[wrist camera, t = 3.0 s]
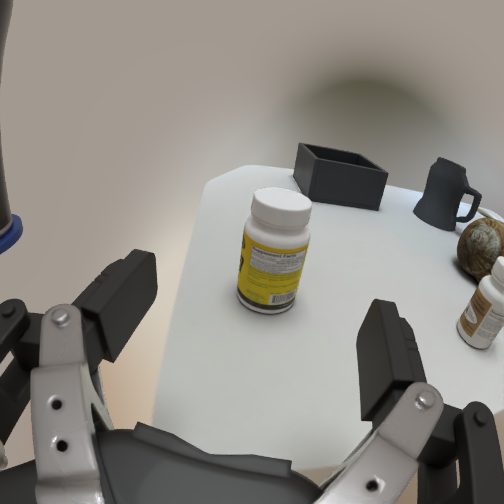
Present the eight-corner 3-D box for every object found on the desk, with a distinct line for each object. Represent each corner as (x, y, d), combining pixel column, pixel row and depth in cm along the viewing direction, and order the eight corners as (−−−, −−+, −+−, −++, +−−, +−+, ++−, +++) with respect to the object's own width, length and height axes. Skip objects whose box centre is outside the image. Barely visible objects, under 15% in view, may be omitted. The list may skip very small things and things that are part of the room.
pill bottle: (453, 314, 24) (488, 247, 20) (484, 325, 23) (520, 262, 19) (458, 344, 21) (502, 271, 17) (492, 354, 19) (536, 286, 15)
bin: (306, 200, 44) (315, 158, 41) (292, 176, 55) (298, 142, 52) (378, 210, 46) (388, 173, 42) (353, 185, 56) (360, 154, 53)
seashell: (439, 259, 34) (460, 204, 30) (467, 252, 37) (486, 206, 33) (499, 311, 25) (530, 252, 21) (518, 294, 29) (542, 246, 25)
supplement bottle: (248, 271, 27) (261, 180, 22) (299, 288, 26) (322, 195, 21) (226, 303, 23) (237, 199, 18) (285, 323, 22) (311, 219, 17)
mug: (404, 208, 49) (420, 150, 43) (427, 208, 53) (443, 156, 47) (454, 241, 40) (477, 177, 34) (473, 236, 44) (493, 181, 38)
